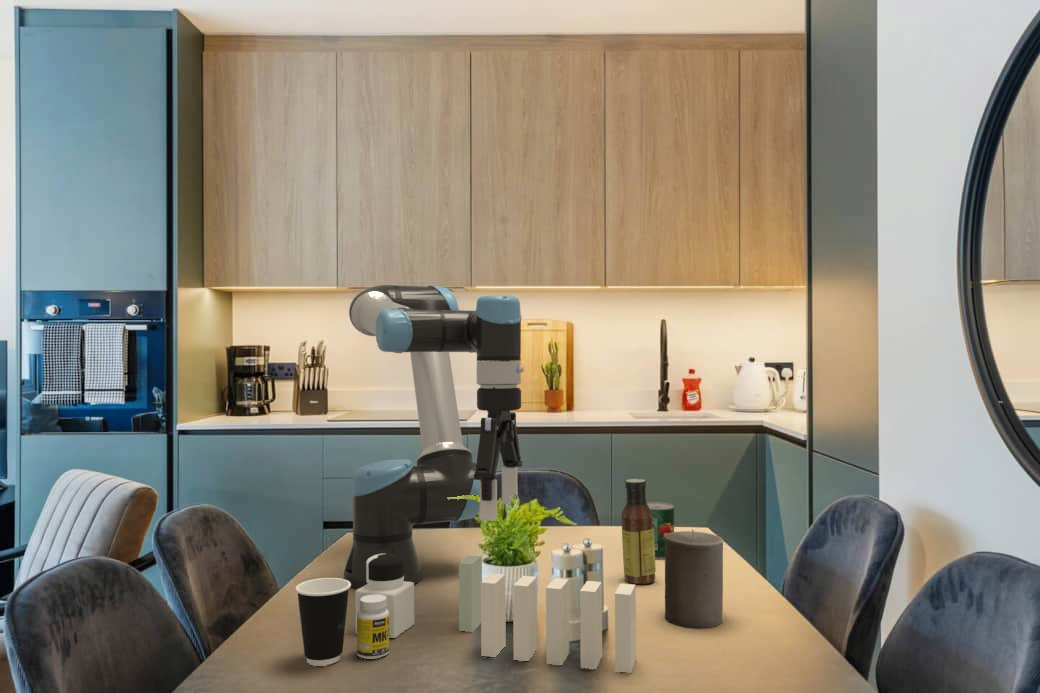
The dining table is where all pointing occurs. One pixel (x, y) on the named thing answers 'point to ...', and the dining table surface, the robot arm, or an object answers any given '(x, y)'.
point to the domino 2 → (525, 618)
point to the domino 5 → (625, 627)
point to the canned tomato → (661, 525)
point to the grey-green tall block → (470, 593)
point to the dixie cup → (323, 618)
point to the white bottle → (389, 590)
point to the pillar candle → (693, 579)
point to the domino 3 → (557, 621)
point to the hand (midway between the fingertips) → (499, 512)
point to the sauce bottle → (638, 535)
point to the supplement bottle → (373, 627)
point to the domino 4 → (591, 624)
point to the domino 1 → (493, 615)
